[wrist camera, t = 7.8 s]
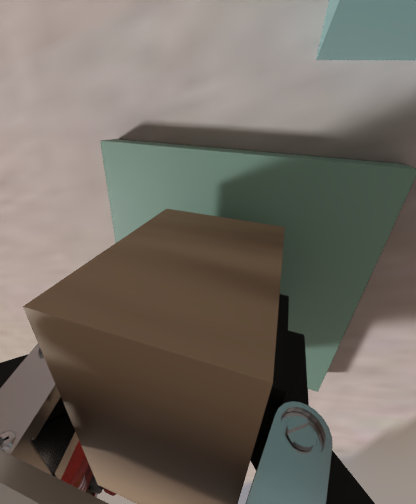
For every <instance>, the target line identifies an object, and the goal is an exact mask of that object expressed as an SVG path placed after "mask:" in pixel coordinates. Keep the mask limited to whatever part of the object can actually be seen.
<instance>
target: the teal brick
mask: <svg viewBox="0 0 416 504" xmlns="http://www.w3.org/2000/svg"><path fill="white" fill-rule="evenodd" d="M316 60H416V0H329V4H328V8H327V13H326V17H325V22H324V27H323V31H322V36H321V41H320V45H319V50H318V55H317V59H316Z"/></svg>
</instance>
